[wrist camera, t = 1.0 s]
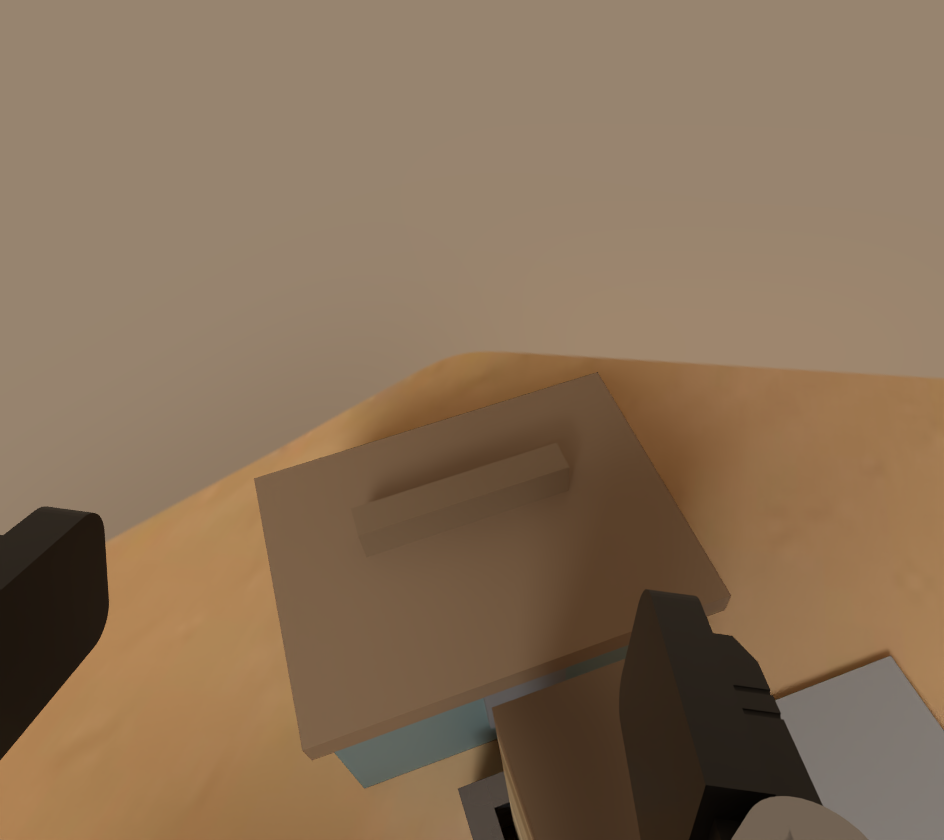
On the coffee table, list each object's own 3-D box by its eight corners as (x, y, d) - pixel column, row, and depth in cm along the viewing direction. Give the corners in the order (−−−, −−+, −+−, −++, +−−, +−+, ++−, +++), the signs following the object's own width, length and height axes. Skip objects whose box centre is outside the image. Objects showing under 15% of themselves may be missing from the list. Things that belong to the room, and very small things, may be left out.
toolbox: (589, 477, 39) (599, 346, 31) (694, 678, 32) (740, 574, 24) (305, 571, 37) (241, 455, 29) (355, 805, 30) (288, 736, 22)
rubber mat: (888, 658, 32) (890, 655, 32) (1053, 893, 27) (1058, 892, 26) (696, 732, 31) (697, 730, 31) (828, 994, 25) (831, 994, 25)
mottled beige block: (602, 804, 29) (642, 652, 17) (644, 907, 27) (725, 821, 15) (516, 838, 29) (491, 707, 16) (551, 946, 27) (554, 890, 14)
